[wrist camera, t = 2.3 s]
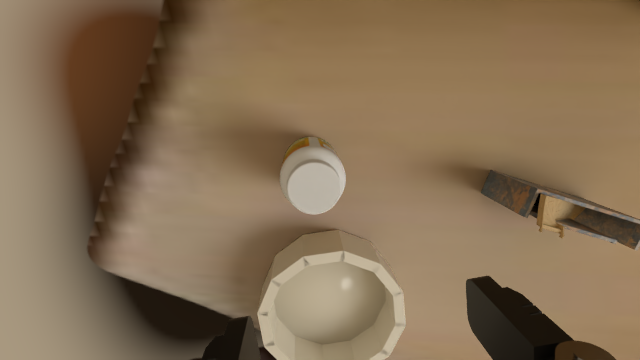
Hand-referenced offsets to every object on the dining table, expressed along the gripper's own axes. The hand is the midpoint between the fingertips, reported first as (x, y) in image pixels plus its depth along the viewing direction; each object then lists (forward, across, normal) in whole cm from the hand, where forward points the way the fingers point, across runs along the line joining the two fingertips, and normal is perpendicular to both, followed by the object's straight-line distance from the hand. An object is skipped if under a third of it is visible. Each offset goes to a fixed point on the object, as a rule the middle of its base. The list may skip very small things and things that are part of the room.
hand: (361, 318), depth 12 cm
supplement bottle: (+23, +1, -2) cm, 23 cm away
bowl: (+23, +1, +13) cm, 26 cm away
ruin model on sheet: (+23, -22, +6) cm, 32 cm away
